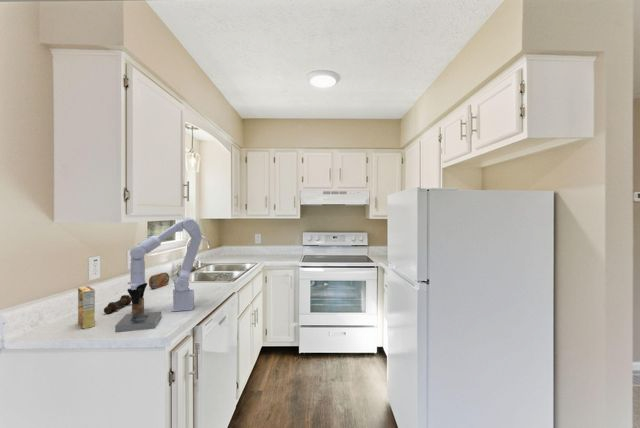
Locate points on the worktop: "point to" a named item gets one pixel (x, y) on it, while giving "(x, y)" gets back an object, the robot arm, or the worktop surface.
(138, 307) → the block
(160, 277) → the brown oval slab
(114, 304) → the dark brown dumbbell shape
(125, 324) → the socket plate
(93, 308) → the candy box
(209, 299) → the worktop surface
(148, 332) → the worktop surface
